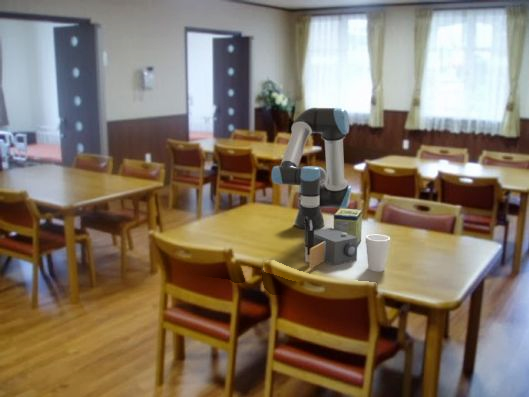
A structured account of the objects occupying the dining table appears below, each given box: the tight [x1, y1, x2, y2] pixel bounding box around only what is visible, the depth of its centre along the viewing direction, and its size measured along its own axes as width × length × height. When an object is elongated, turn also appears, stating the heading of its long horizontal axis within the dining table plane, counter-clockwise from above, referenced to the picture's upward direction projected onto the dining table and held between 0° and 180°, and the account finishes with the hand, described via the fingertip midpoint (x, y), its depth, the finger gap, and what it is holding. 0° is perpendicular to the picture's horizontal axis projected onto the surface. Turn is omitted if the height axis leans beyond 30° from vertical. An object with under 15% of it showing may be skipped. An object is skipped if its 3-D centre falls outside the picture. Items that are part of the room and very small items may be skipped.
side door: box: [308, 241, 326, 269], centre depth 218 cm, size 1×12×8 cm, turn 146°
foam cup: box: [365, 233, 391, 272], centre depth 215 cm, size 10×9×13 cm
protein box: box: [333, 207, 363, 248], centre depth 246 cm, size 10×16×16 cm
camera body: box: [313, 227, 358, 266], centre depth 229 cm, size 12×20×11 cm, turn 32°
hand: (308, 261), depth 221 cm, fingers closed
